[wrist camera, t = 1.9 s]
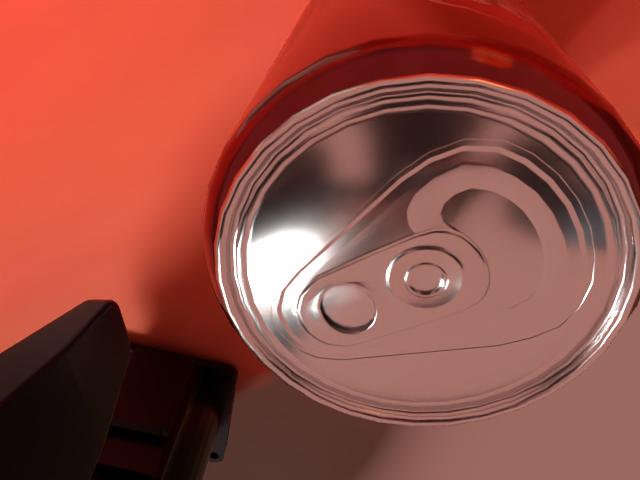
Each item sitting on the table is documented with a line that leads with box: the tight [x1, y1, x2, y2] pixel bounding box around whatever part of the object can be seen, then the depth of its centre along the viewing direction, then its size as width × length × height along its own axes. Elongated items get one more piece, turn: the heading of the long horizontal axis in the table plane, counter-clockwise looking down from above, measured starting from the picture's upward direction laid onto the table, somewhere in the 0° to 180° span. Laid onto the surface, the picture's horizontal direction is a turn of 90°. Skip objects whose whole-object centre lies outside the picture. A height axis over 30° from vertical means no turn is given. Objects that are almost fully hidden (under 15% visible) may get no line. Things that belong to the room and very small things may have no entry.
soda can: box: [203, 0, 640, 426], centre depth 14 cm, size 7×7×12 cm
